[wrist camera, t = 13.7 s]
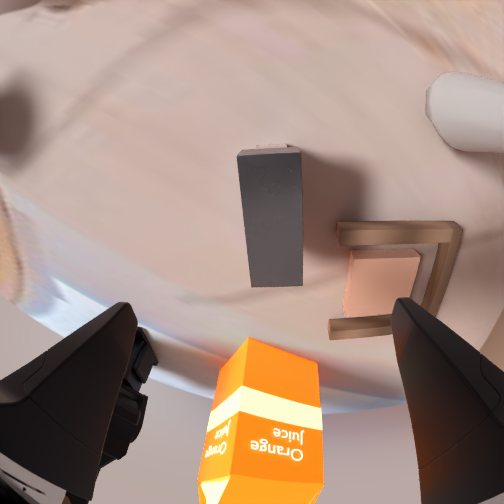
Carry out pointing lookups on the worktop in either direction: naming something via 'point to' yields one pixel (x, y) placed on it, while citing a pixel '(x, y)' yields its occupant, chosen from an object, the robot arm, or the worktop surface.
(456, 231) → the bay
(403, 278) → the tile
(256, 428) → the orange juice
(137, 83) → the worktop surface
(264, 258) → the grey block
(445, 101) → the salt shaker
